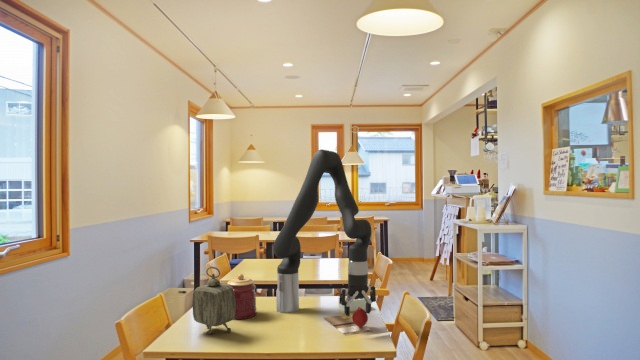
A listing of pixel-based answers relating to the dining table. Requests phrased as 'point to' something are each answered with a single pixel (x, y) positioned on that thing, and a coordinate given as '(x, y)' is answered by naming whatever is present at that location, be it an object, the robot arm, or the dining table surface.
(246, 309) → the canister
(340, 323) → the board
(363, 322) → the onion
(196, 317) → the tabletop clock
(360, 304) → the block
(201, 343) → the dining table surface
